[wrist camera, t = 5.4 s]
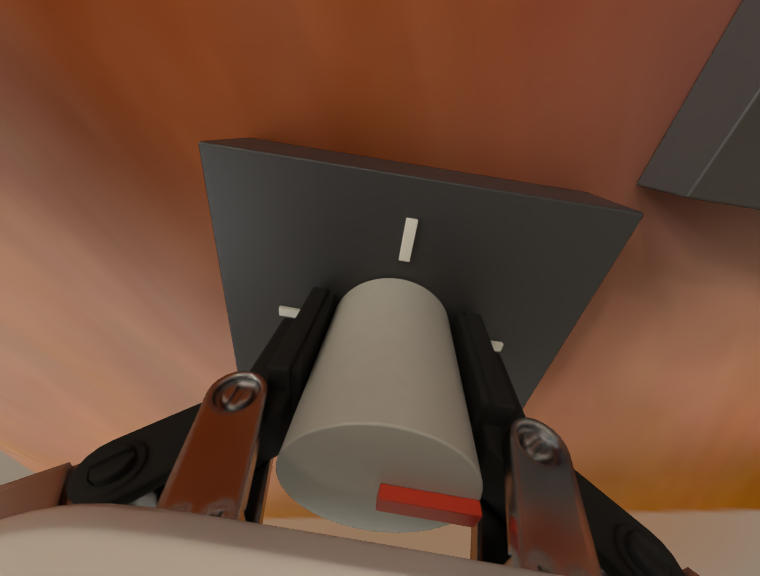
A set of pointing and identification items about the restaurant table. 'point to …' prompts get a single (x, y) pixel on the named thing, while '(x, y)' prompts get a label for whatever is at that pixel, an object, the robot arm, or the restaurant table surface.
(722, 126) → the power block
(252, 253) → the panel
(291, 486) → the timer knob
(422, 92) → the restaurant table surface
